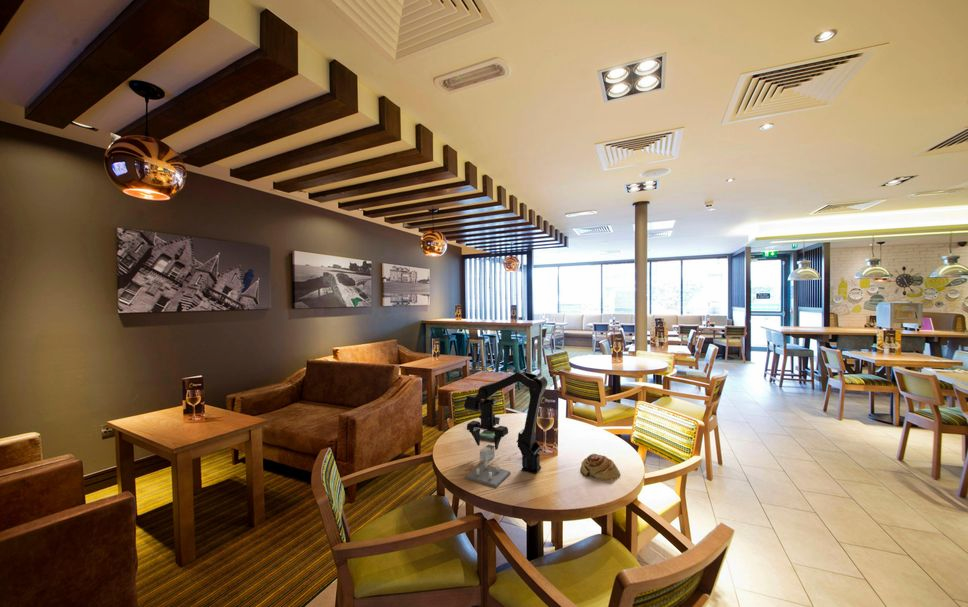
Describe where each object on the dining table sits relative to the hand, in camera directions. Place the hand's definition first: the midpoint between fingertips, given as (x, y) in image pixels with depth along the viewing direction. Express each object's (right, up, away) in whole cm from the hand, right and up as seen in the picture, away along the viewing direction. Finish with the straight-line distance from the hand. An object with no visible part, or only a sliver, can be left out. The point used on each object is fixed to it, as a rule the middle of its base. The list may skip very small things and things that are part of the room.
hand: (487, 447), depth 153 cm
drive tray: (0, -5, -15) cm, 16 cm away
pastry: (+46, -5, -13) cm, 48 cm away
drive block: (0, -5, 0) cm, 5 cm away
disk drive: (+3, -6, +27) cm, 28 cm away
